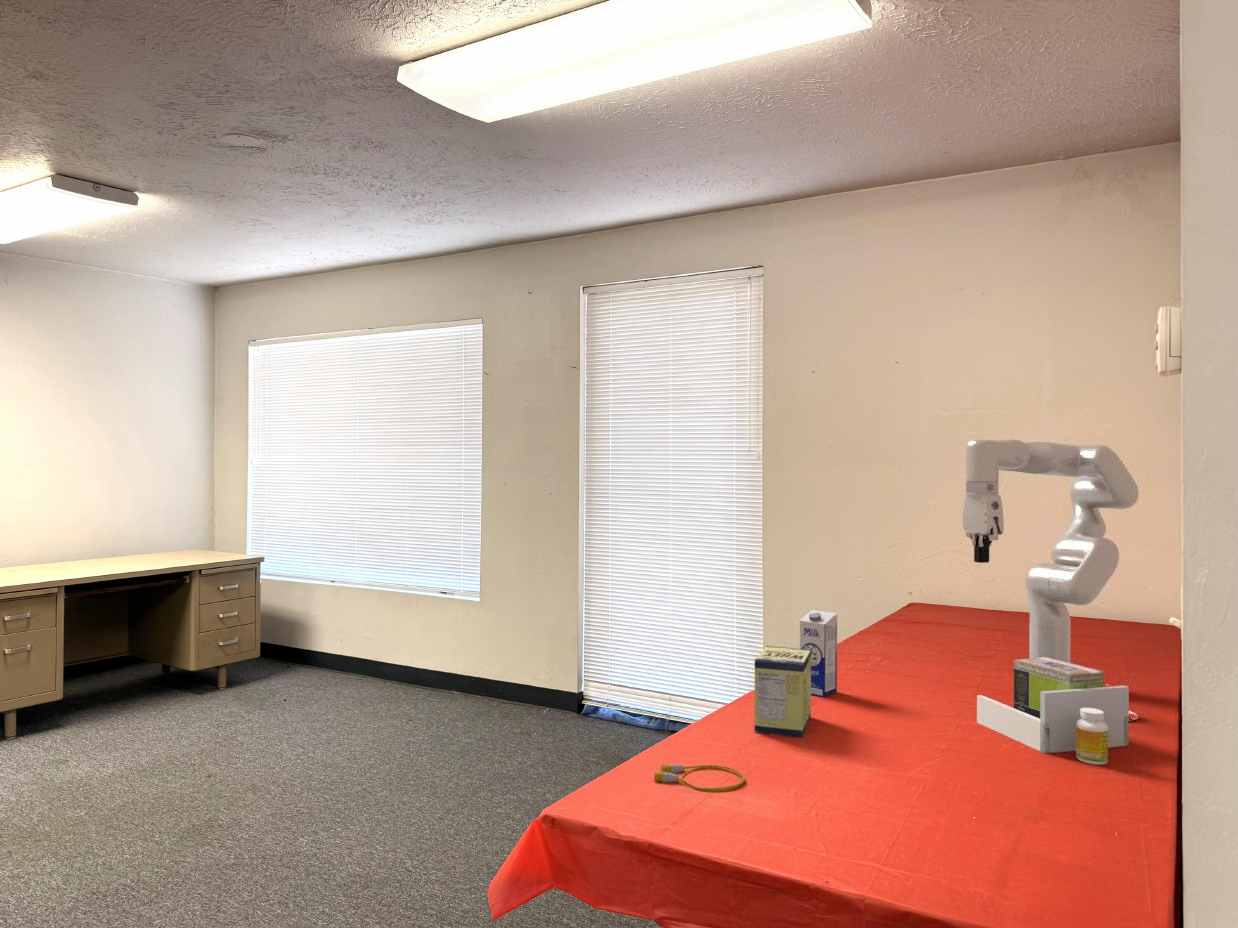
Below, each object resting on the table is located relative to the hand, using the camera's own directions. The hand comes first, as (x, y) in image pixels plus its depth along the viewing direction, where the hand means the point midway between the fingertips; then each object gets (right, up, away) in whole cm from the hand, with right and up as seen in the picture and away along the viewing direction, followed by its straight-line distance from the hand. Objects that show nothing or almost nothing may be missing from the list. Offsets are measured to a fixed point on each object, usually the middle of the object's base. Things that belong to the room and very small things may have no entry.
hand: (981, 562), depth 206 cm
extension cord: (-76, -33, -56) cm, 100 cm away
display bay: (+1, -33, -30) cm, 44 cm away
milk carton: (-41, -33, +1) cm, 52 cm away
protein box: (-55, -33, -25) cm, 69 cm away
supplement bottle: (+1, -33, -46) cm, 57 cm away
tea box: (+3, -33, -30) cm, 45 cm away
